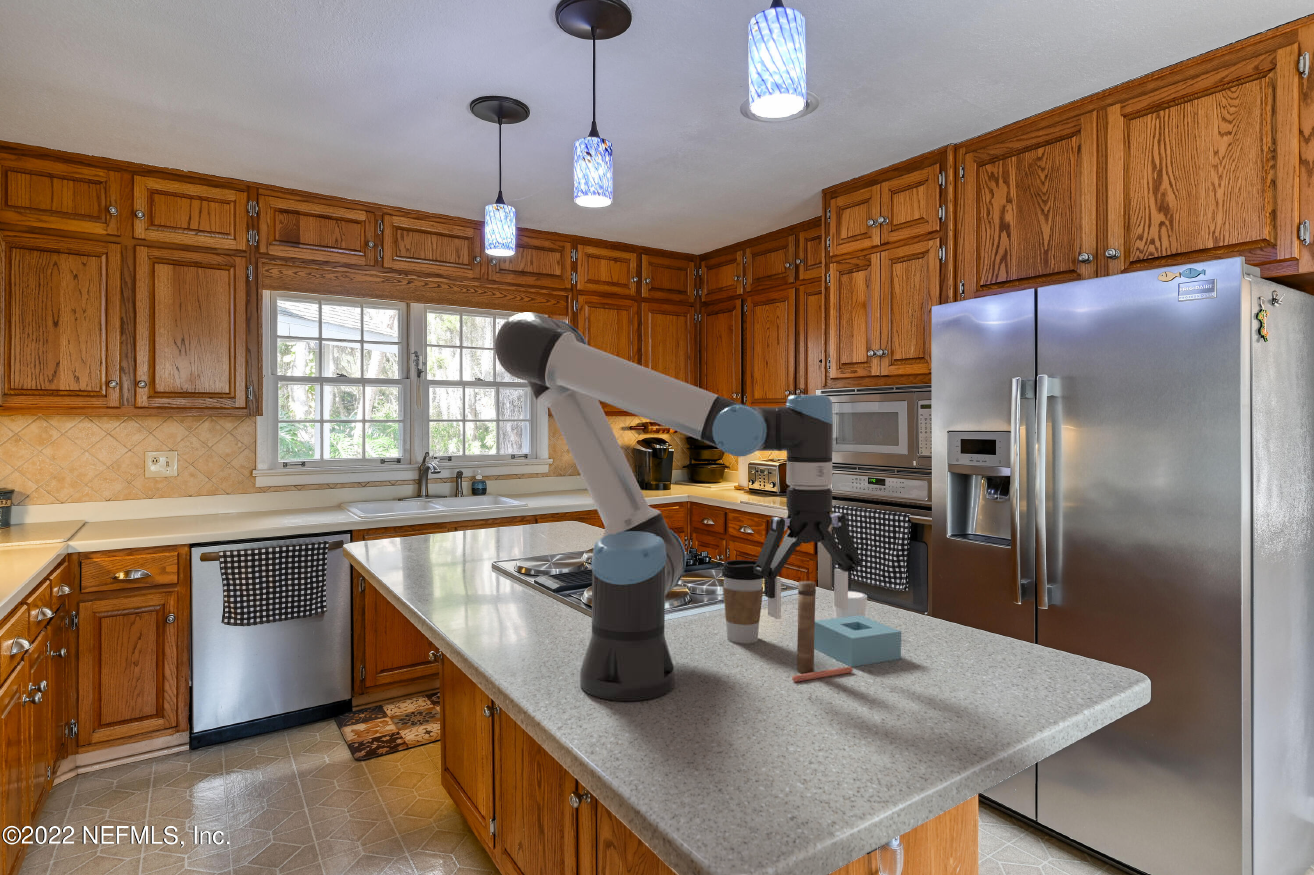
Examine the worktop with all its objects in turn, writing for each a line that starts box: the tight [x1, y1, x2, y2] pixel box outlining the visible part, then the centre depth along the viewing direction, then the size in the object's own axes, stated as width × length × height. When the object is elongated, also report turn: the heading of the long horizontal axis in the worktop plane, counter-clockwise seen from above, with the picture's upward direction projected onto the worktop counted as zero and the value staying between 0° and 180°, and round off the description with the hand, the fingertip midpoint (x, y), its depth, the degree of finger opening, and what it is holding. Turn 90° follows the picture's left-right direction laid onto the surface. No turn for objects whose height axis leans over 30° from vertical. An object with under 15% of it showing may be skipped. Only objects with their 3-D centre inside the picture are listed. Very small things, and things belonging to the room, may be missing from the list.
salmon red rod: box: [791, 666, 854, 683], centre depth 118 cm, size 12×1×1 cm, turn 114°
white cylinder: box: [832, 590, 868, 618], centre depth 146 cm, size 7×7×7 cm
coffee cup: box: [721, 559, 764, 644], centre depth 138 cm, size 8×8×15 cm
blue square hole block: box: [814, 615, 902, 668], centre depth 130 cm, size 11×11×5 cm
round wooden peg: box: [796, 580, 817, 674], centre depth 121 cm, size 3×3×15 cm
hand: (808, 612), depth 121 cm, fingers open, 13 cm apart
